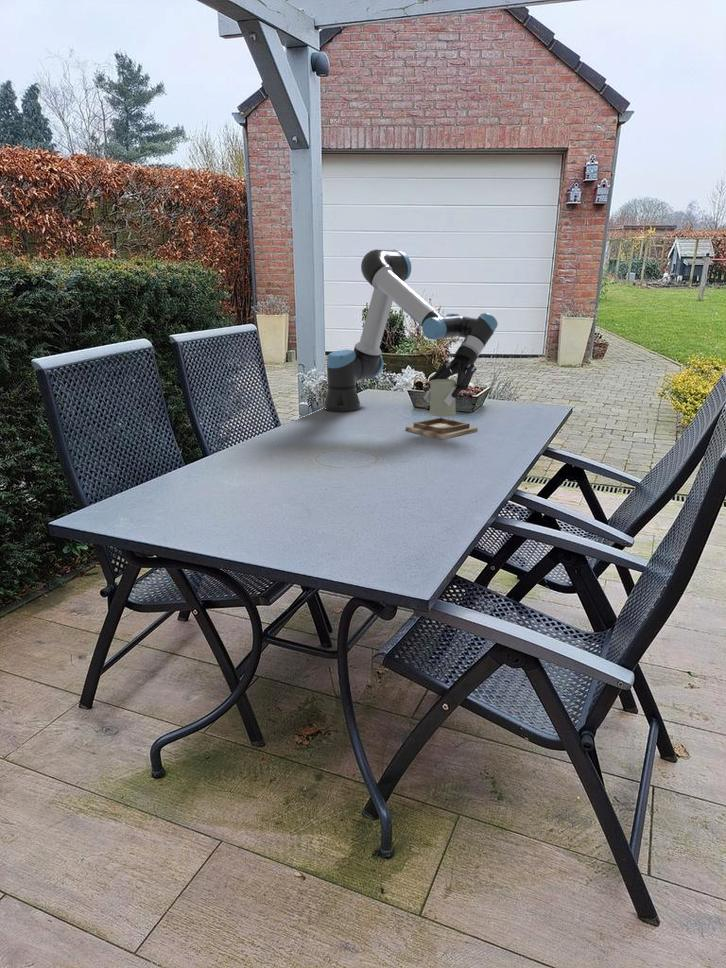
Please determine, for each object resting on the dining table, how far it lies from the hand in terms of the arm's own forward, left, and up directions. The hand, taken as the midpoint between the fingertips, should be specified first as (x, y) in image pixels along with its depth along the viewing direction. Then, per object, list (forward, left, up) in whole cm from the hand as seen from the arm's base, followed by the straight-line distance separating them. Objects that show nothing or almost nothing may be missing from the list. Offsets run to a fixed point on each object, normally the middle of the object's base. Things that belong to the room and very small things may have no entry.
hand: (436, 402), depth 222 cm
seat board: (0, +3, -11) cm, 11 cm away
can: (0, +3, -5) cm, 6 cm away
